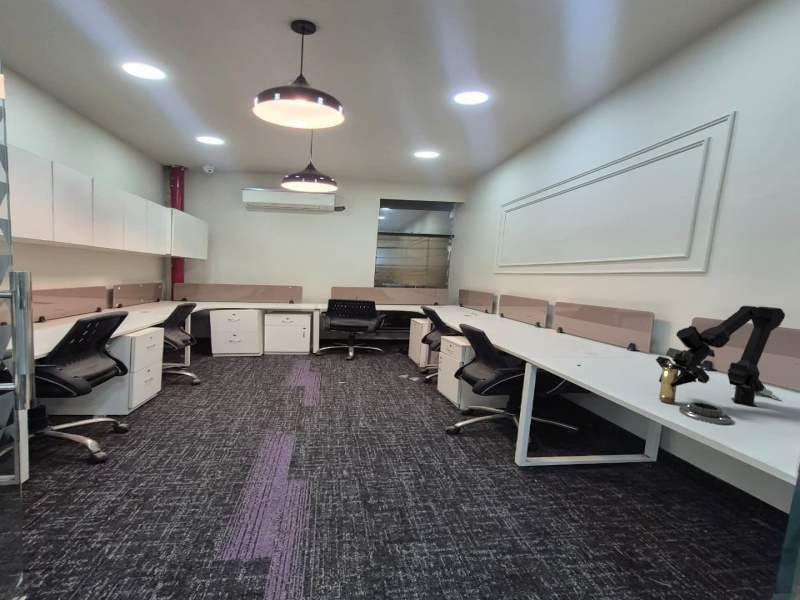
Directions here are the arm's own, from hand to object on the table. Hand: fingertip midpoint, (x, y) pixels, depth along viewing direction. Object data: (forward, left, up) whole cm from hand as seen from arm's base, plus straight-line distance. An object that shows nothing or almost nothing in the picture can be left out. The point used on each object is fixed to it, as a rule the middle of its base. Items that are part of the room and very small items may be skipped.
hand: (665, 383), depth 136 cm
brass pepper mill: (-1, +1, -7) cm, 7 cm away
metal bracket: (-45, +34, -8) cm, 57 cm away
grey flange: (+7, +11, -7) cm, 15 cm away
